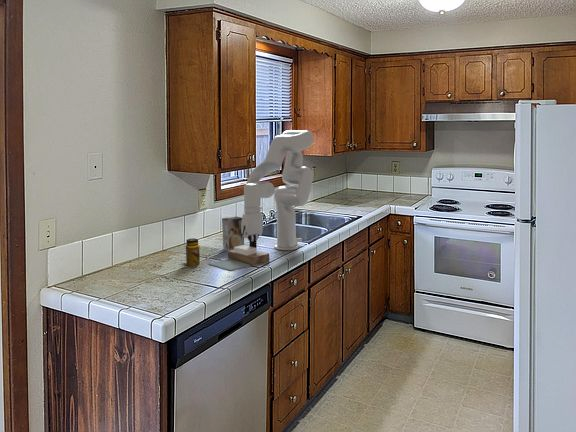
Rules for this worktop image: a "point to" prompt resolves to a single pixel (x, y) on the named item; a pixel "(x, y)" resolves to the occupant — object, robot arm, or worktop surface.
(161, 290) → the worktop surface
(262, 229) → the robot arm
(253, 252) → the tile
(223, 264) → the mat
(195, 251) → the condiment
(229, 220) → the coffee box
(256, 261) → the board
